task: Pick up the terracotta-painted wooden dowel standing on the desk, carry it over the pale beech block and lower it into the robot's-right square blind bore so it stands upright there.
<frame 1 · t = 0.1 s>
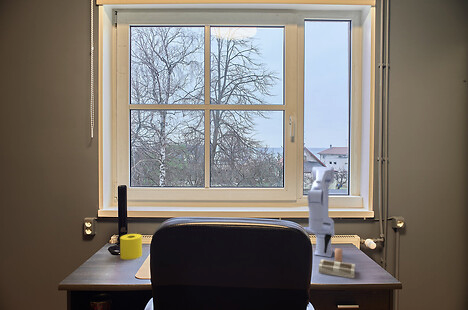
hand: (315, 251, 124), 10 cm above the table, tool pointing down, fingers open, 7 cm apart
dowel: (338, 264, 136), on the table
bore block: (336, 271, 128), on the table
tape roll: (131, 256, 147), on the table
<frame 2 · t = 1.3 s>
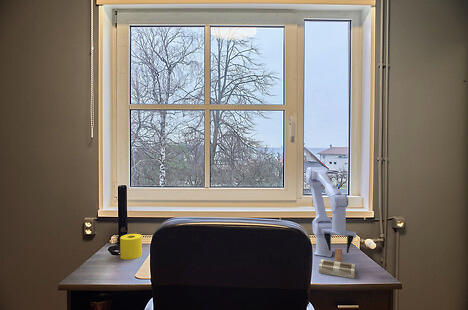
hand: (338, 251, 135), 6 cm above the table, tool pointing down, fingers open, 7 cm apart
nothing on the table moved.
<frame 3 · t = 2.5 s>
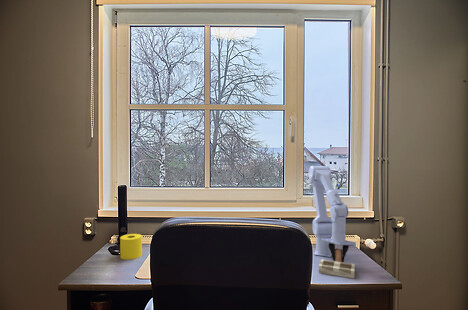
hand: (338, 260, 135), 2 cm above the table, tool pointing down, fingers closed on dowel, 3 cm apart
dowel: (338, 264, 136), on the table, touching gripper
everything else where it was.
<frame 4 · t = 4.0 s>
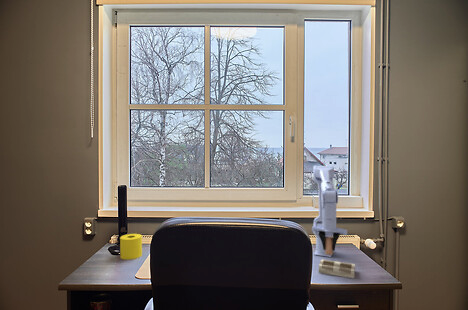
hand: (329, 249, 129), 9 cm above the table, tool pointing down, fingers closed on dowel, 3 cm apart
dowel: (329, 253, 129), point 7 cm above the table, touching gripper
everything else where it was.
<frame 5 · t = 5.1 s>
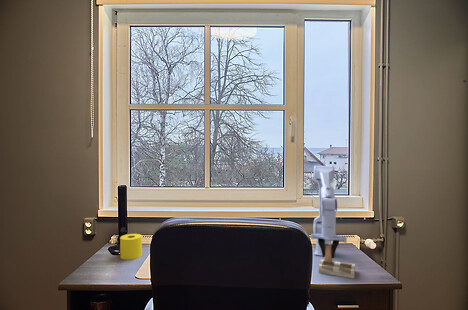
hand: (328, 257, 129), 6 cm above the table, tool pointing down, fingers closed on dowel, 3 cm apart
dowel: (328, 261, 129), point 4 cm above the table, touching gripper
everything else where it was.
when the fingers open (4 cm above the table, at t = 5.9 s): dowel stays where it is, resting on bore block.
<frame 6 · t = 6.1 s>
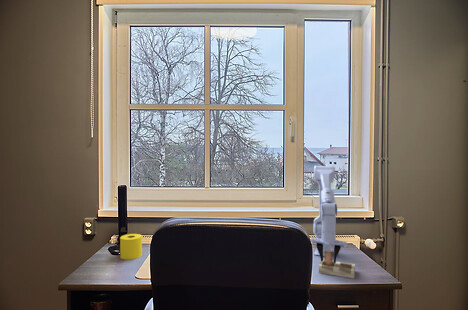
hand: (328, 261, 129), 4 cm above the table, tool pointing down, fingers open, 5 cm apart
dowel: (328, 267, 129), point 1 cm above the table, touching bore block
everything else where it was.
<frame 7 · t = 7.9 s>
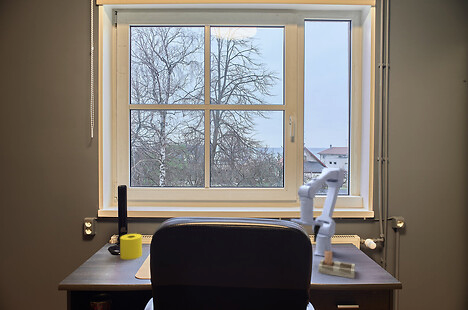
hand: (306, 240, 139), 10 cm above the table, tool pointing down, fingers open, 7 cm apart
nothing on the table moved.
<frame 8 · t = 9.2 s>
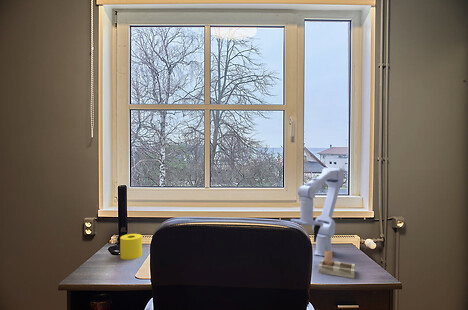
hand: (306, 240, 139), 10 cm above the table, tool pointing down, fingers open, 7 cm apart
nothing on the table moved.
at the end: dowel 0.0 cm from the target spot on the bore block, point 1.1 cm above the bore block's base; dowel tilted 0°; the gripper is holding nothing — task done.
